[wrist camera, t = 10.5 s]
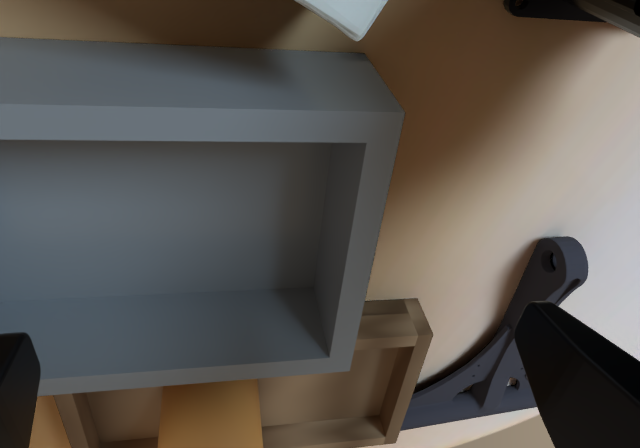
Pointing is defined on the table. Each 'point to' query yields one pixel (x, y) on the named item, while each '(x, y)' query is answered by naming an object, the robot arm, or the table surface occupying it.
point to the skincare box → (347, 14)
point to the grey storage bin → (188, 209)
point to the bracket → (503, 346)
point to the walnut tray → (289, 394)
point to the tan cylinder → (211, 415)
